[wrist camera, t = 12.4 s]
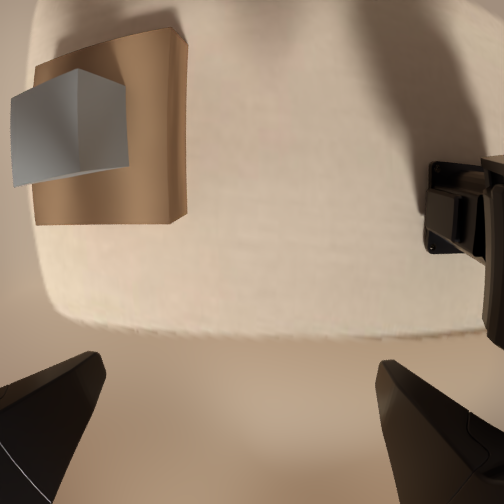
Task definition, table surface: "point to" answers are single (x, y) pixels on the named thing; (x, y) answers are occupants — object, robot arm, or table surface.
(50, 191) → the block
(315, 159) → the table surface
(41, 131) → the slate cube
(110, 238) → the table surface
